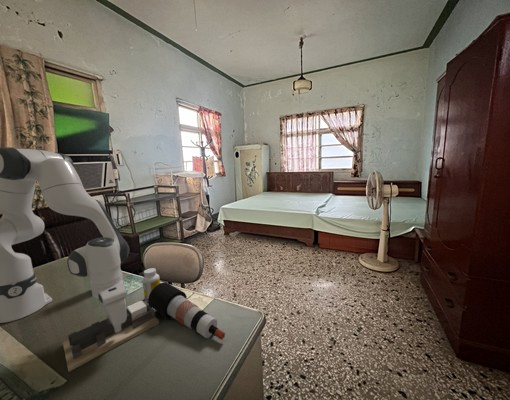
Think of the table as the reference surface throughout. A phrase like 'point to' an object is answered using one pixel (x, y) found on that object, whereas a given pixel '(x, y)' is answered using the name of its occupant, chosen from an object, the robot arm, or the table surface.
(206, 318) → the cable
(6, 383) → the table surface
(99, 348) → the clip board
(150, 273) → the supplement bottle
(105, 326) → the bar
